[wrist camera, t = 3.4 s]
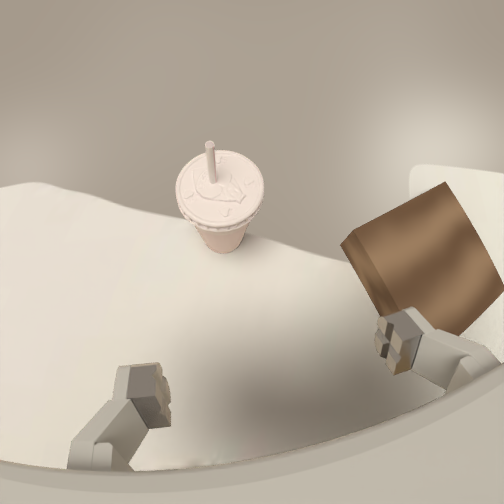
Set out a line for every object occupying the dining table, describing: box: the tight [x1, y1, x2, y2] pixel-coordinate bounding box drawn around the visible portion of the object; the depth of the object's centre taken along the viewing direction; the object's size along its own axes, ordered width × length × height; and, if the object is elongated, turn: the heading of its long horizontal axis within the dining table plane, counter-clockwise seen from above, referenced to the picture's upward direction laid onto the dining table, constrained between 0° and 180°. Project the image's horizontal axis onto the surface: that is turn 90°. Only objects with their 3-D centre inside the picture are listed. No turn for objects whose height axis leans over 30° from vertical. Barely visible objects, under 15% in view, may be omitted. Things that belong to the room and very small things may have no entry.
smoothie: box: [176, 141, 264, 253], centre depth 25 cm, size 6×6×14 cm
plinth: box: [340, 182, 504, 336], centre depth 30 cm, size 14×14×4 cm
